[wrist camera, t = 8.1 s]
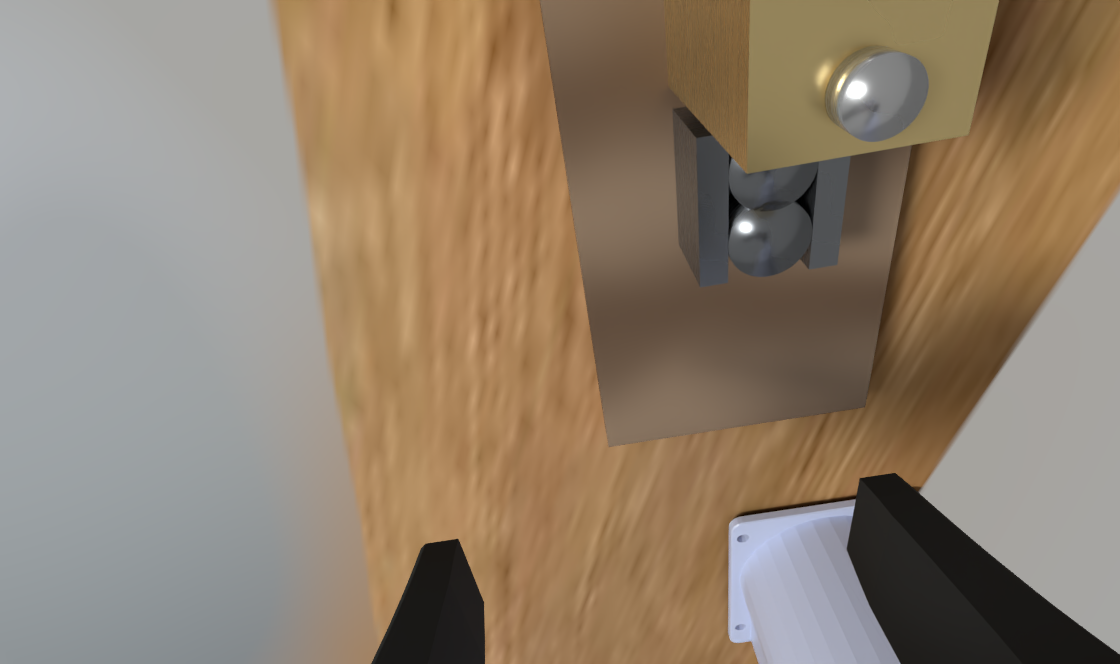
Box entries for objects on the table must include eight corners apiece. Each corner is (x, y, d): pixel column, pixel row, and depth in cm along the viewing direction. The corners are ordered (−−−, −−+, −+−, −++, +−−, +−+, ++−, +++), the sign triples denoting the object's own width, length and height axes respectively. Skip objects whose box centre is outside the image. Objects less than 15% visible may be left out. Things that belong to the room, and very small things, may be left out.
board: (851, 388, 22) (865, 407, 21) (605, 427, 22) (608, 446, 21) (1021, -682, 9) (1070, -741, 9) (453, -558, 10) (447, -601, 9)
